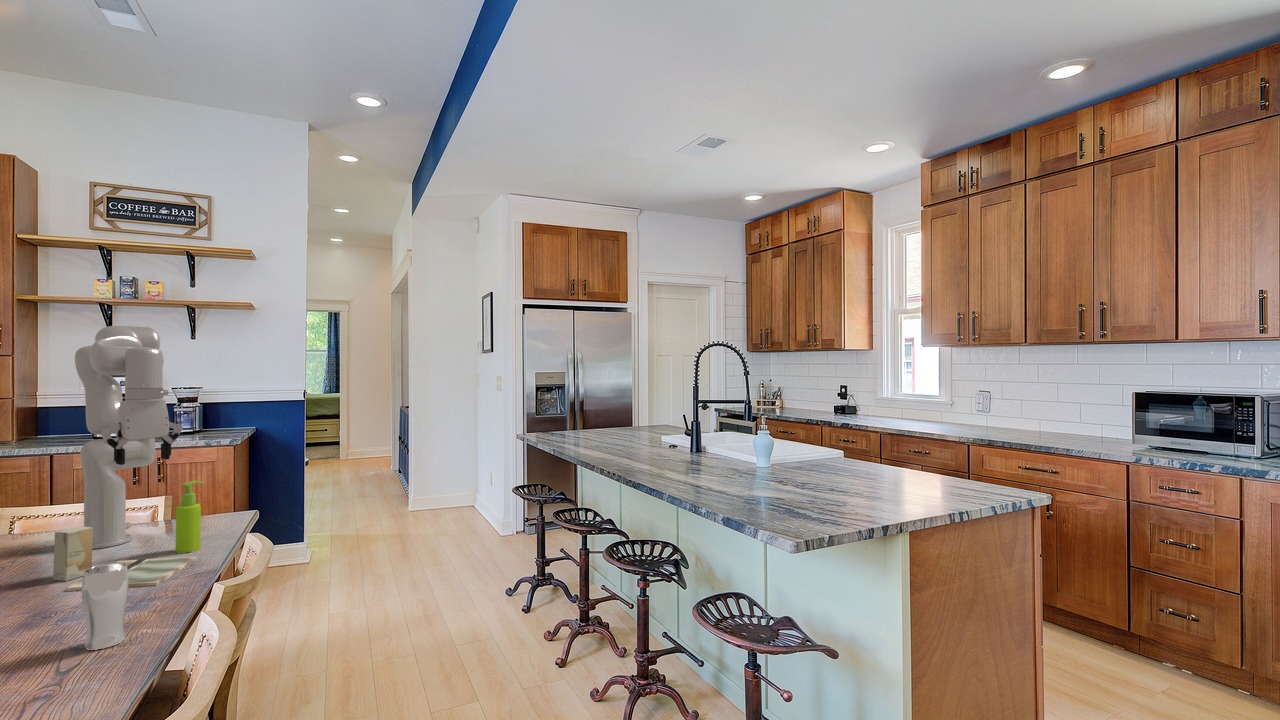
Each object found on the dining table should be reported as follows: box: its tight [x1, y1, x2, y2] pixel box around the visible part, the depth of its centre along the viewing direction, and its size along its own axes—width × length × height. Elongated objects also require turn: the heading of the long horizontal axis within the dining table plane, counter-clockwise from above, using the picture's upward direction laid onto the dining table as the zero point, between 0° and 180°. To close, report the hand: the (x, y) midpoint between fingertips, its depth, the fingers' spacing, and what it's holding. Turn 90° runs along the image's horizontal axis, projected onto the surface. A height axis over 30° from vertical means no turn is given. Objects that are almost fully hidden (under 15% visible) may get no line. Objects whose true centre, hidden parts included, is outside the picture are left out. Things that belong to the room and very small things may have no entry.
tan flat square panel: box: [65, 556, 197, 592], centre depth 159 cm, size 20×19×1 cm
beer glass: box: [81, 562, 129, 649], centre depth 120 cm, size 7×7×15 cm
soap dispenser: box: [175, 480, 205, 554], centre depth 179 cm, size 6×7×20 cm
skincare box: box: [52, 525, 93, 582], centre depth 156 cm, size 6×4×12 cm
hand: (143, 461), depth 157 cm, fingers open, 9 cm apart
